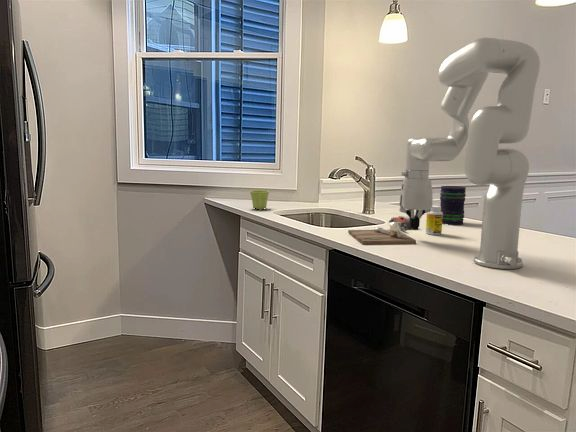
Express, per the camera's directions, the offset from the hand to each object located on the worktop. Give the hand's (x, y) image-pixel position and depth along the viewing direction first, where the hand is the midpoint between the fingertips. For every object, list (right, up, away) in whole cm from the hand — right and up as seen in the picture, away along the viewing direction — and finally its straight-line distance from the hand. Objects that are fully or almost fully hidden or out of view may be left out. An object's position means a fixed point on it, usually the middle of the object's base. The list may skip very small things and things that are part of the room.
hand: (414, 229), depth 167 cm
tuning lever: (-8, -2, +3) cm, 9 cm away
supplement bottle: (+10, -2, +11) cm, 15 cm away
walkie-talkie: (+2, -1, +23) cm, 23 cm away
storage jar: (+24, +1, +35) cm, 43 cm away
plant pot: (-57, +8, +68) cm, 89 cm away
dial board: (-11, -3, +2) cm, 12 cm away
